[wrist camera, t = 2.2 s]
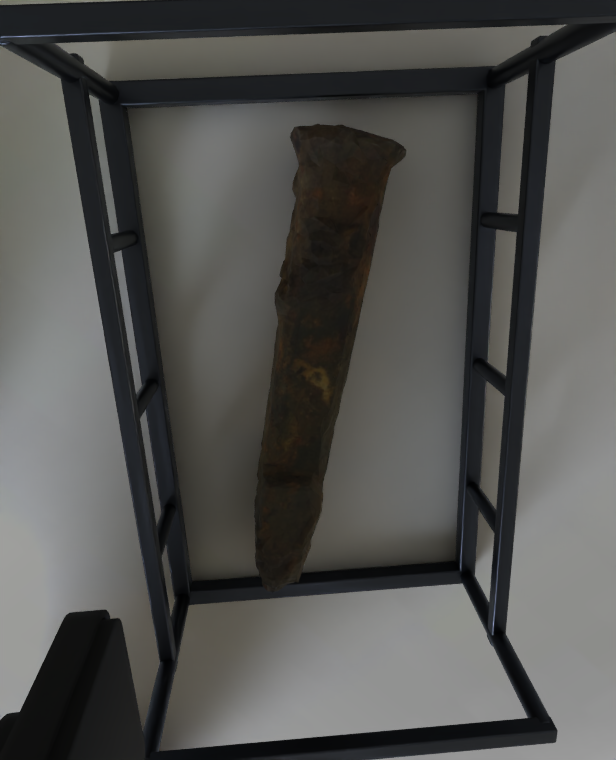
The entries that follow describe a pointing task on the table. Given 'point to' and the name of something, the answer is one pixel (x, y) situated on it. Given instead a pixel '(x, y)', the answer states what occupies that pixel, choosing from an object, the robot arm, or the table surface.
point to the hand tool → (315, 332)
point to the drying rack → (449, 11)
